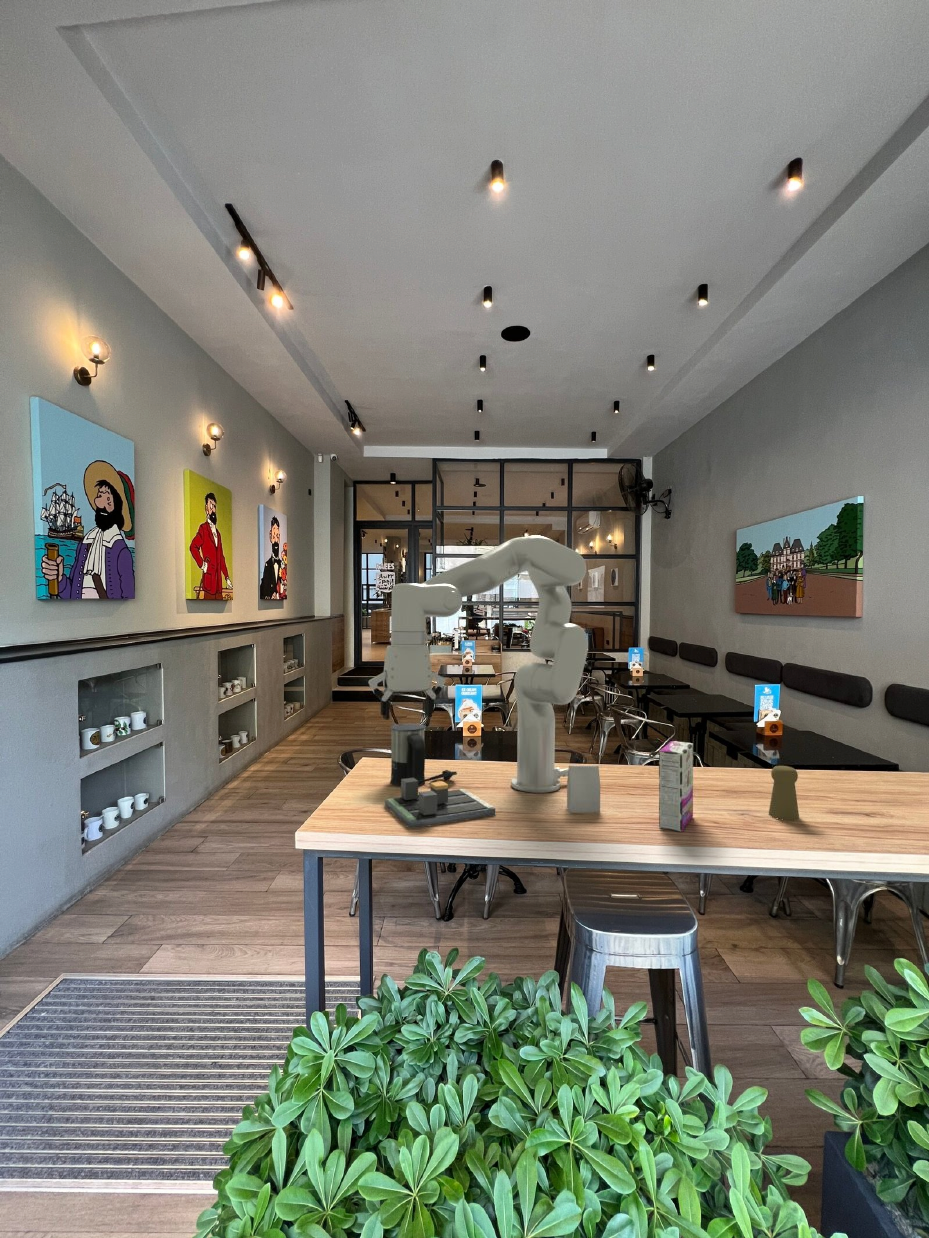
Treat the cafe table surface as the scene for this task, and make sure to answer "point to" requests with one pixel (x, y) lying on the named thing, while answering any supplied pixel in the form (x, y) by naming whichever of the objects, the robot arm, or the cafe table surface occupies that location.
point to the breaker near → (428, 802)
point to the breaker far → (409, 788)
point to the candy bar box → (675, 785)
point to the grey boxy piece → (583, 789)
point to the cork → (784, 794)
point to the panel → (441, 809)
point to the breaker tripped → (440, 791)
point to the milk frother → (410, 755)
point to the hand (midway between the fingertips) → (407, 717)
